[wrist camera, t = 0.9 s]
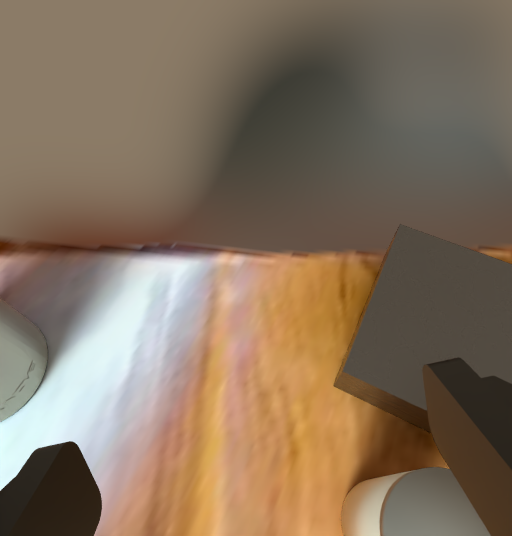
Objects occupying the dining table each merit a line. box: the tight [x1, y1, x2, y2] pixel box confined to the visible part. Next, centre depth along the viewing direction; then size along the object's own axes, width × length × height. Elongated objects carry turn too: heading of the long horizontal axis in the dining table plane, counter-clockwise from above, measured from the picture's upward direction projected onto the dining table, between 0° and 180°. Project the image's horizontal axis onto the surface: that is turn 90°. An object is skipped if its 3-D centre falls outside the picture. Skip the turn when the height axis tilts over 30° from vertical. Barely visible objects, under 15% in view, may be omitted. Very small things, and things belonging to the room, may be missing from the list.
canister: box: [341, 467, 491, 536], centre depth 21 cm, size 5×5×11 cm
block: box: [334, 224, 512, 433], centre depth 30 cm, size 16×14×4 cm
